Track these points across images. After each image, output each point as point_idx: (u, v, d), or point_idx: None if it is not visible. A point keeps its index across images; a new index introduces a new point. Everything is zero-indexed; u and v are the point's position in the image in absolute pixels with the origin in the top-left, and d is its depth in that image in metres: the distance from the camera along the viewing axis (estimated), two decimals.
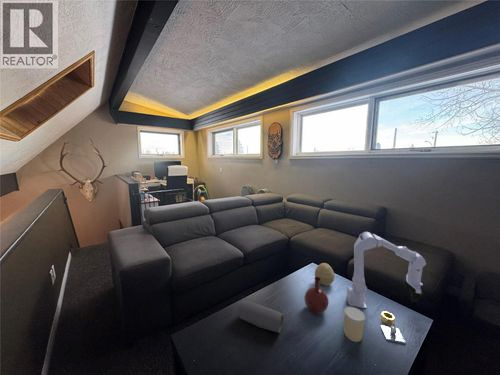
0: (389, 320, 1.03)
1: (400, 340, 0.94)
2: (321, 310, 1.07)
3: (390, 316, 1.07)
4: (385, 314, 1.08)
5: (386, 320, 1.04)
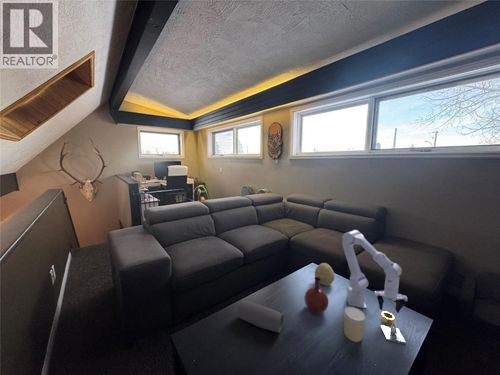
0: (389, 320, 1.03)
1: (400, 340, 0.94)
2: (321, 310, 1.07)
3: (390, 316, 1.07)
4: (385, 314, 1.08)
5: (386, 320, 1.04)
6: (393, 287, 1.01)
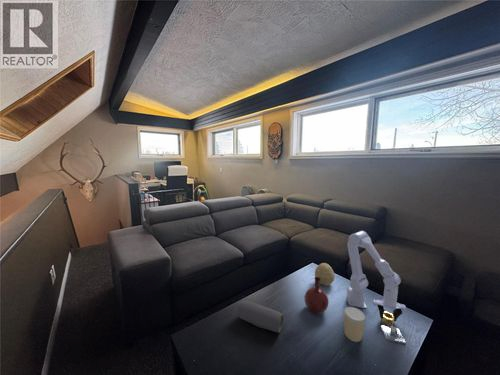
0: (389, 320, 1.03)
1: (400, 340, 0.94)
2: (321, 310, 1.07)
3: (390, 316, 1.07)
4: (385, 314, 1.08)
5: (386, 320, 1.04)
6: (392, 297, 1.01)
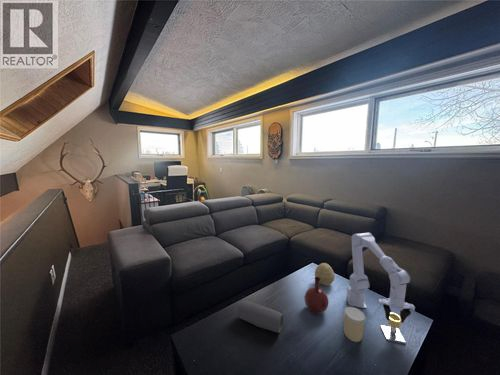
0: (396, 322, 0.94)
1: (400, 340, 0.94)
2: (321, 310, 1.07)
3: (397, 318, 0.98)
4: (391, 315, 0.99)
5: (392, 322, 0.95)
6: (397, 295, 0.92)
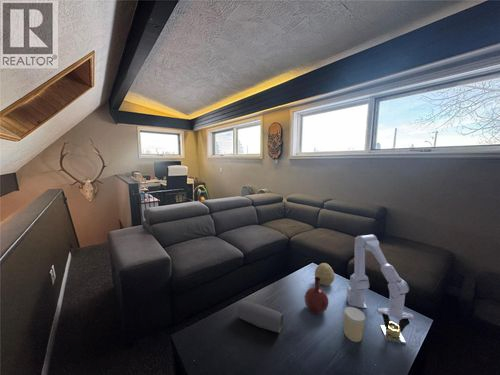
0: (395, 332, 0.95)
1: (400, 340, 0.94)
2: (321, 310, 1.07)
3: (396, 327, 0.98)
4: (390, 324, 1.00)
5: (391, 332, 0.96)
6: (396, 304, 0.93)
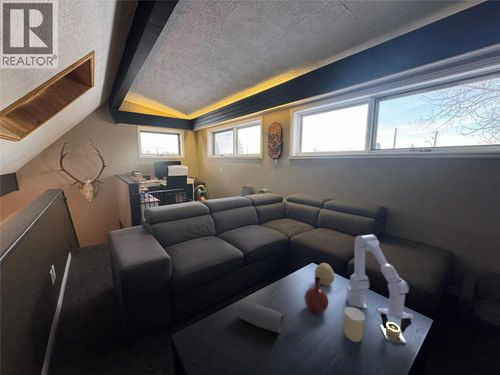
0: (394, 332, 0.95)
1: (400, 340, 0.94)
2: (321, 310, 1.07)
3: None
4: (390, 325, 1.00)
5: (391, 332, 0.96)
6: (396, 305, 0.93)
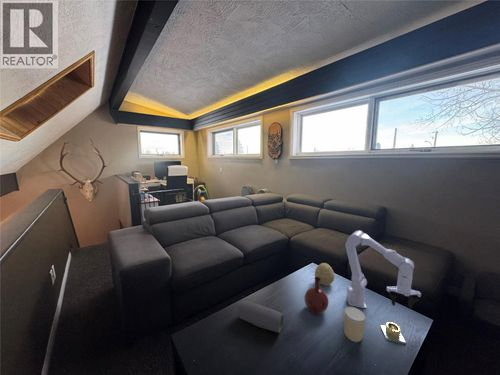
0: (394, 332, 0.95)
1: (400, 340, 0.94)
2: (321, 310, 1.07)
3: None
4: (390, 325, 1.00)
5: (391, 332, 0.96)
6: (408, 283, 0.99)
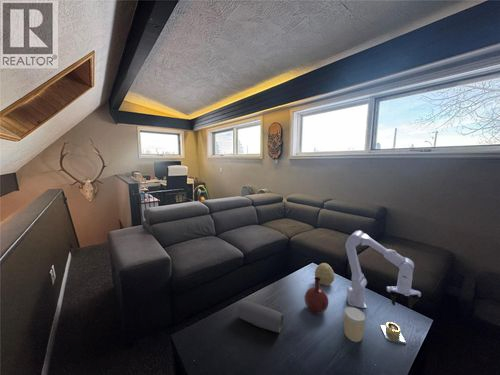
0: (394, 332, 0.95)
1: (400, 340, 0.94)
2: (321, 310, 1.07)
3: None
4: (390, 325, 1.00)
5: (391, 332, 0.96)
6: (408, 282, 0.99)
